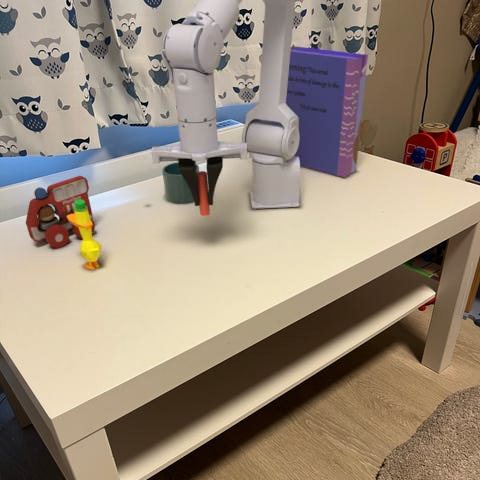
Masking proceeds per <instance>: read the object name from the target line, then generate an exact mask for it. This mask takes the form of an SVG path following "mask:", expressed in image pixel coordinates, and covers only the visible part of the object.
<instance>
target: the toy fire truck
mask: <svg viewBox="0 0 480 480" xmlns="http://www.w3.org/2000/svg"><path fill="white" fill-rule="evenodd" d="M89 189H90V187H89V182H88V179H87V177H84V176H82V175H77V176H74V177H71V178H68V179H64V180H61V181H59V182H56V183H53V184H49V185H48V186H47V188H46V189H45V188H43V187H37V188H36V189H34V197H33V198H31V200H30V201H29V204H28V209H27V214H26V218H25V225H26V229H27V232H28V235H29V237H30V239H31V240H32V241H33V242H36V243H38V242H41V241H44V240H45V241H46V243H47V244H48V245H49V246H51V247H52V248H56V249H57V248H62V247H65V245H67V243H68V242H69V239H70V233H69V231H72V233H73V234H74V235H75V236H76V237H77V238H79V239H83V238H82V235H81V233H80V230H79V228H78V227H77V226H75V225H73V224H71V223H70V222H69V221H68V219H67V215H70V214H75V213H74V209H73V207H74V206H75V203H74V202H75V201H76V200H79V199H81V200H84V201H85V205H86V206H87V209H88V213H89V217H90V219H91V221H92V224H93V225H92V227H91V230H92V235H93V234H94V233H95V229H96V225H95V222H94V220H93V219H94V216H93V211H92V207H91V201H90V198H89Z"/></svg>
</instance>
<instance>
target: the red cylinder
mask: <svg viewBox="0 0 480 480" xmlns="http://www.w3.org/2000/svg"><path fill="white" fill-rule="evenodd" d="M197 182H198V194H199V214H200V216H202V217H207V216H210V215H211V209H210V205H209V203H208V177H207V171H203V170H202V171H201V170H199V172H197Z"/></svg>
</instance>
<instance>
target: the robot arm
mask: <svg viewBox="0 0 480 480" xmlns="http://www.w3.org/2000/svg"><path fill="white" fill-rule="evenodd" d="M242 2H243V0H198V1H197V2H196V4H195V5H194V6H193V8H192V9H191V11H190V12H189V13H188V14H187V16H186V17H185V18H184V20H183V22H181V23H180V24H179V23H177V24H174V25H171V27H169V29H168V30H166V32H165V34H164V36H163V39H162V49H161V50H160V54H161V59H162V62H163V64H164V66H165V67H166V68H167V71H168V76H169V81H170V83H171V84H172V85H173V88H174V99H175V107H176V115H177V117H176V118H177V125H178V136H179V143H174V144H168V145H161V146H152V148H151V159H152V164H160V163H163V162H178V169H179V172H180V174H181V175H182V176H183V178H184V179H185V181H186V183H187V185H188V187H189V189H190V191H191V193H192V196H193V199H194V202H193V203H194V206H195V207H200V205H199V194H198V183H197V174H196V164H197V161H198V162H199V161H206V166H205V167H206V172H207V181H208V203H209V206H214V195H215V191H216V187H217V183H218V181H219V177H220V175H221V173H222V170H223V168H224V167H223V166H224V160H226V159H227V160H228V159H240V160H248V159H251V171H252V172H251V173H252V190H250V191H249V195H250V196H249V197H250V204H251V209H254V210H257V209H259V210H260V209H278V208H280V209H281V208H282V209H283V208H299V207H300V194H301V167H300V161H299V157H298V156H294V155H295V154H296V152H297V149H298V146H299V139H300V136H299V118H298V116H297V115H296V114H295V113H294V112H293V111H292V110H291V109H290V108H289V107H288V106H287V104H286V96H287V85H288V74H289V63H290V53H291V47H292V41H293V29H294V19H295V8H296V0H262V2H263V3H264V17H263V31H262V33H263V34H262V45H261V47H262V48H261V62H260V77H259V90H258V91H259V92H258V103H257V104H256V105H255V106H254V107H252V108H251V109H250V110H248V111H247V113H246V114H245V122H244V126H243V129H242V134H241V142H231V141H220V140H219V139H218V138H219V137H218V124H217V123H218V122H217V107H216V105H217V104H216V90H215V75H214V73H215V70H216V69H217V68H218V67H219V65H220V61H221V56H222V52H223V48H224V45H225V40H226V38H227V36H228V35H229V34H230V32H231V31H232V29H233V27H234V26H235V24H236V23H237V21H238V20H239V18H240V6H239V5H240V4H241V3H242Z"/></svg>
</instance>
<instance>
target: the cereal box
mask: <svg viewBox="0 0 480 480" xmlns="http://www.w3.org/2000/svg"><path fill="white" fill-rule="evenodd" d="M368 60H369V54H364V53H356V52H348V51H347V52H346V51H338V50H331V49H329V50H328V49H321V48H312V47H304V46H291V53H290V63H289V74H288V85H287V96H286V104H287V106H288V107H289V108H290V109H291V110H292V111H293V112H294V113H295V114H296V115H297V116H298V118H299V136H300V139H299V146H298V149H297V152H296V154H295V155H294V156H298V157H299V161H300V168H305V169H308V170H312V171H316V172H320V173H324V174H327V175H330V176H335V177H338V178H342V179H346V178H348V177H350V176H351V175H353V174H354V173H356V172H357V165H358V156H359V155H358V154H359V147H360V146H359V145H360V137H361V125H362V117H363V108H364V100H365V99H364V98H365V88H366V79H367V78H366V77H367V70H368Z"/></svg>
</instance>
